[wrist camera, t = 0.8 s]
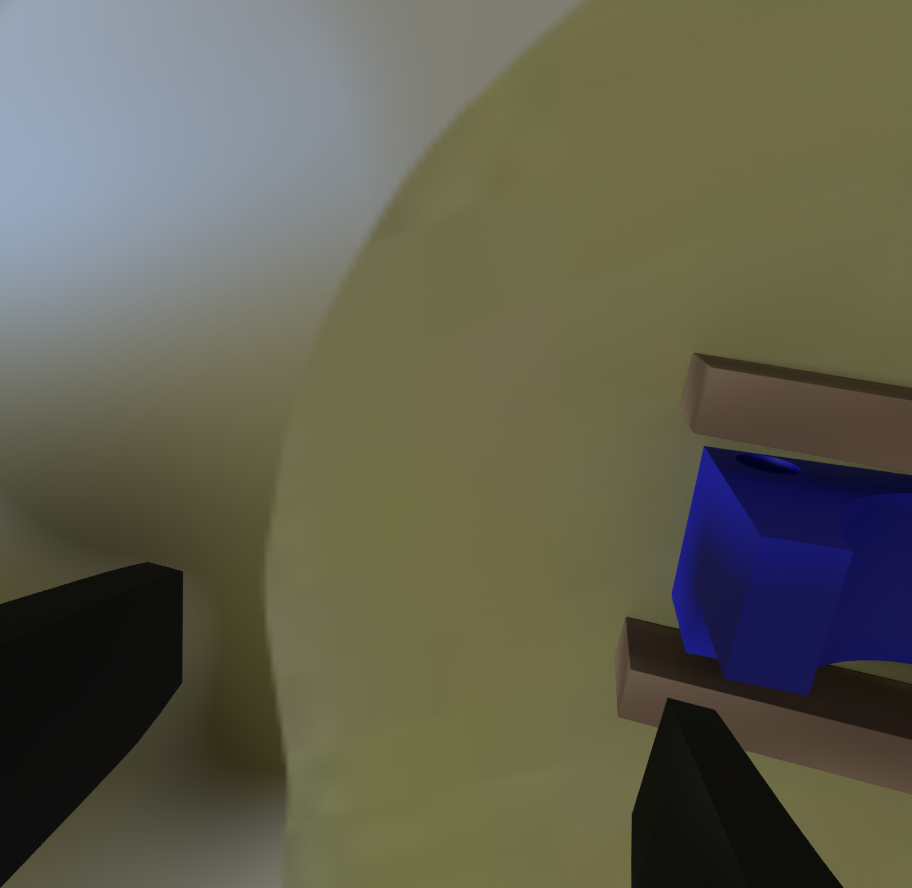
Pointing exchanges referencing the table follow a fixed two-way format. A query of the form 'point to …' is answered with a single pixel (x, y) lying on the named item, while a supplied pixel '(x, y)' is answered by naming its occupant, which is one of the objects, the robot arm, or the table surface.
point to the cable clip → (794, 567)
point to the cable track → (833, 689)
